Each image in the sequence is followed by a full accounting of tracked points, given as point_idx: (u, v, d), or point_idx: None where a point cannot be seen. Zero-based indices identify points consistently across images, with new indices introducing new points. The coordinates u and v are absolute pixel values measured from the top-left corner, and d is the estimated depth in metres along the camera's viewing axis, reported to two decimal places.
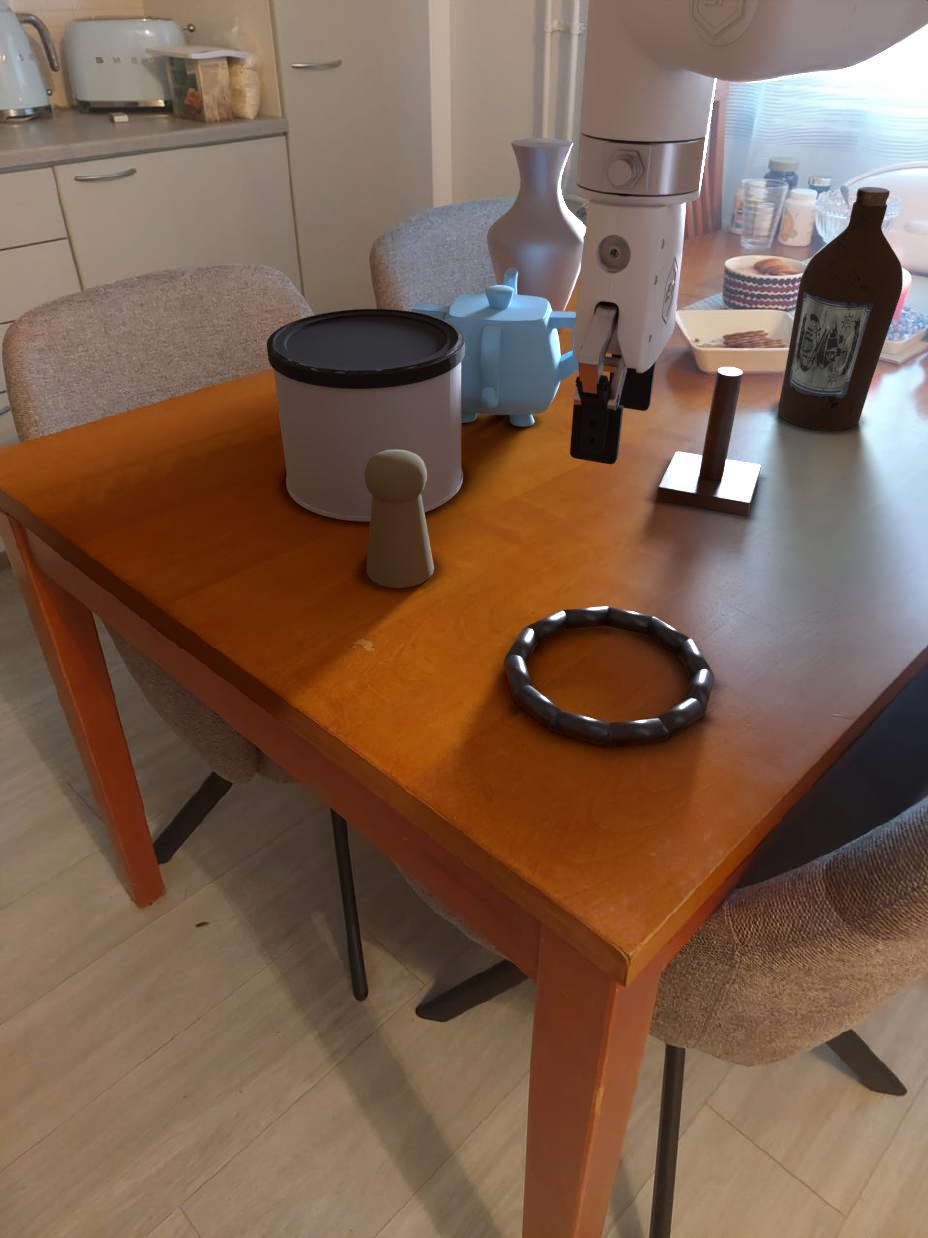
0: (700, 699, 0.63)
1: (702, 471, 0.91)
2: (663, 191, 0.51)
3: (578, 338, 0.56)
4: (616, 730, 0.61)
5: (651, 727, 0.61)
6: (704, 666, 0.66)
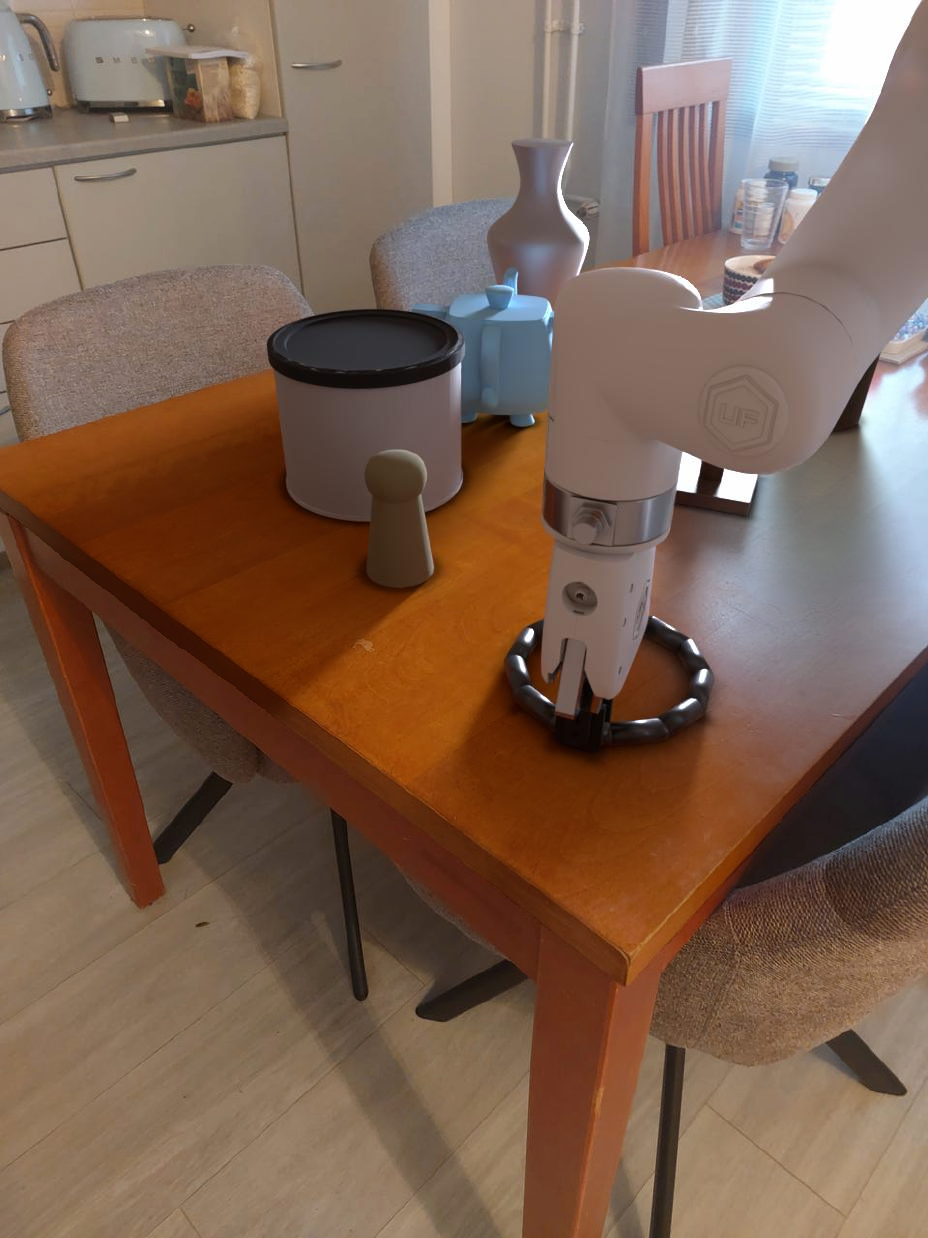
0: (700, 699, 0.63)
1: (702, 471, 0.91)
2: (631, 541, 0.49)
3: (545, 664, 0.54)
4: (616, 730, 0.61)
5: (651, 727, 0.61)
6: (704, 666, 0.66)
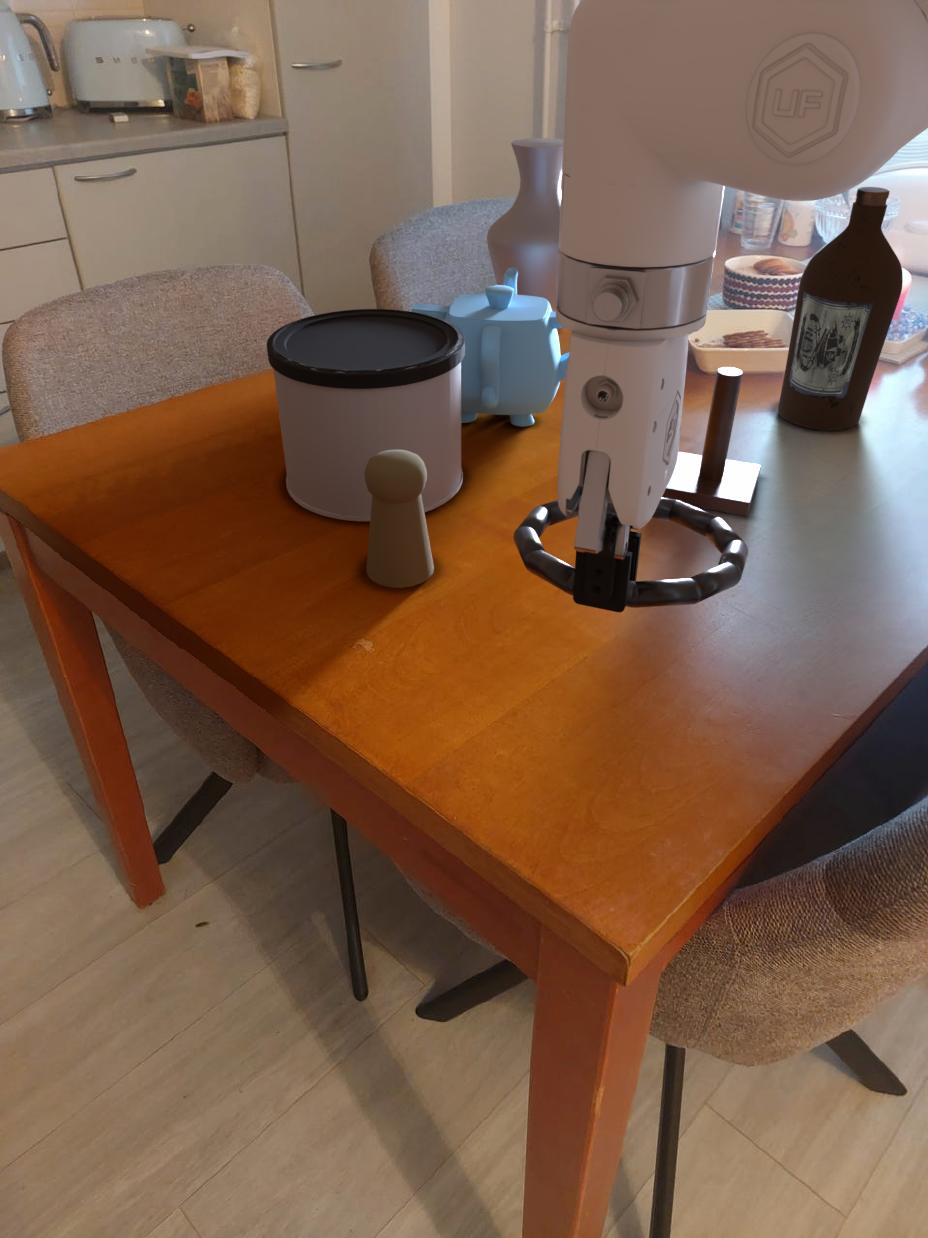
0: (735, 563, 0.56)
1: (702, 471, 0.91)
2: (662, 323, 0.42)
3: (562, 489, 0.46)
4: (643, 587, 0.54)
5: (682, 585, 0.54)
6: (737, 538, 0.59)
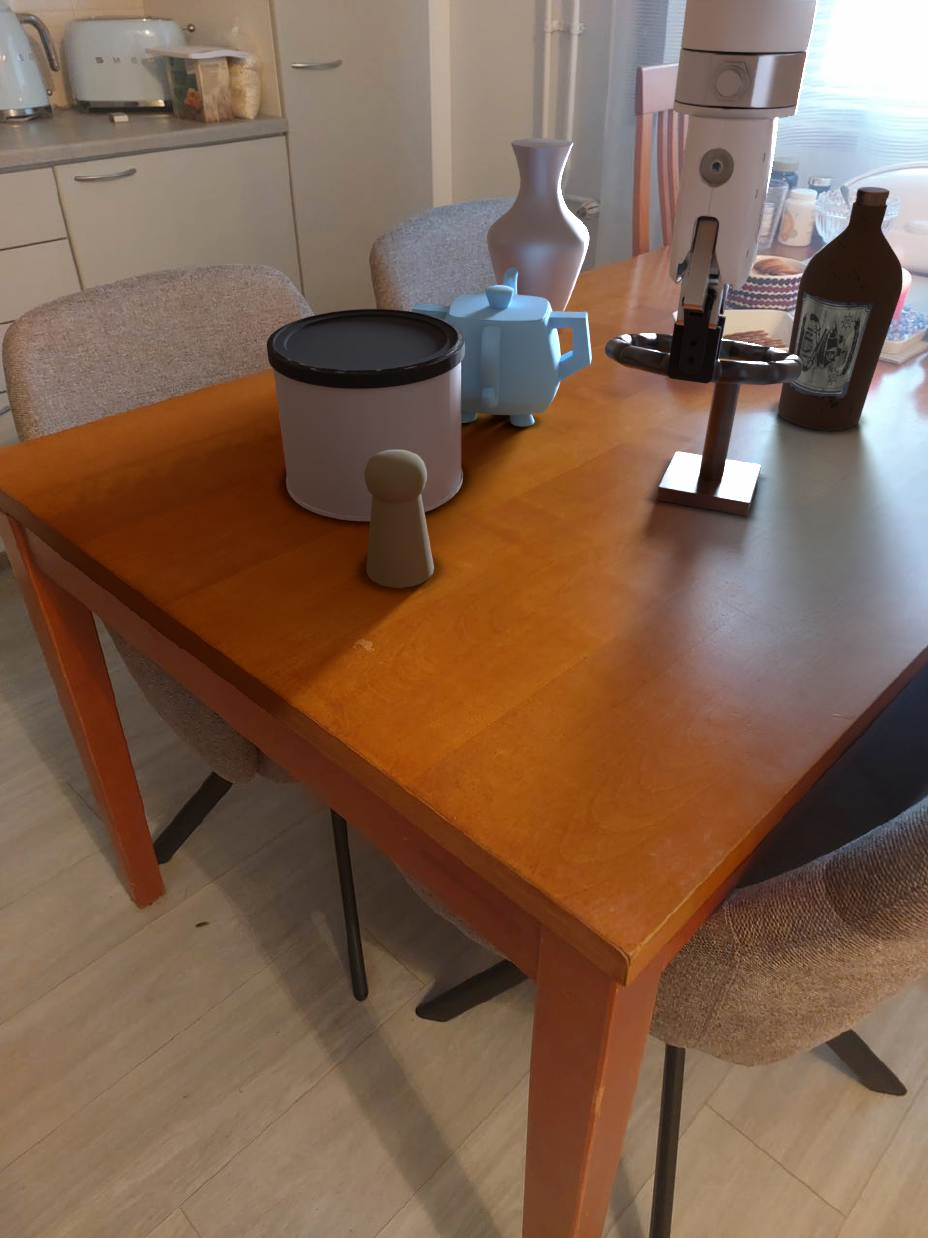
0: (796, 361, 0.68)
1: (702, 471, 0.91)
2: (767, 103, 0.52)
3: (675, 255, 0.57)
4: (726, 362, 0.65)
5: (757, 364, 0.65)
6: None
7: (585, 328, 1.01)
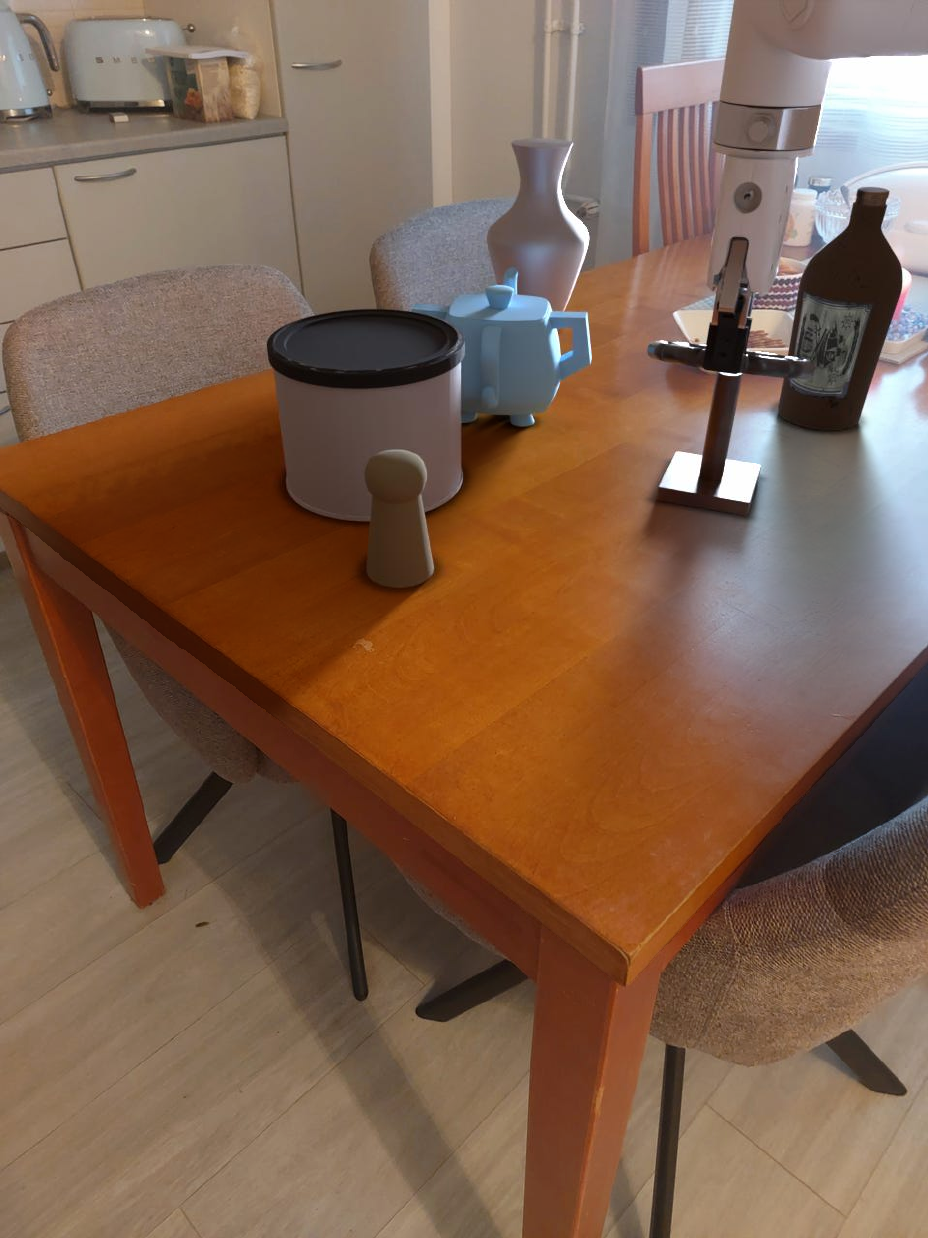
0: (810, 361, 0.80)
1: (702, 471, 0.91)
2: (789, 147, 0.65)
3: (712, 268, 0.70)
4: (752, 356, 0.77)
5: (778, 360, 0.78)
6: None
7: (585, 328, 1.01)
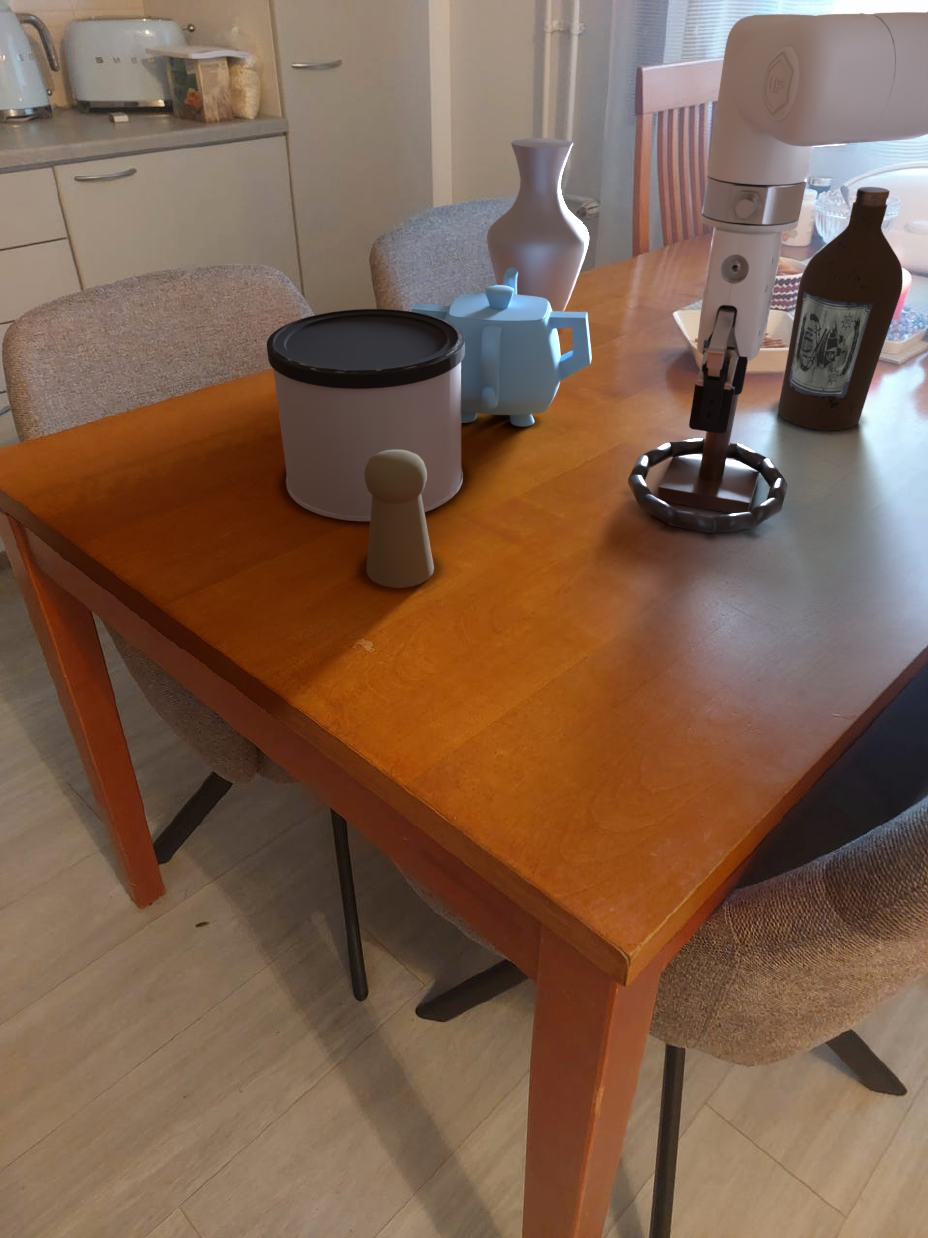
0: (778, 498, 0.86)
1: (702, 471, 0.91)
2: (774, 221, 0.68)
3: (702, 333, 0.73)
4: (719, 520, 0.84)
5: (744, 517, 0.84)
6: (780, 476, 0.89)
7: (585, 328, 1.01)
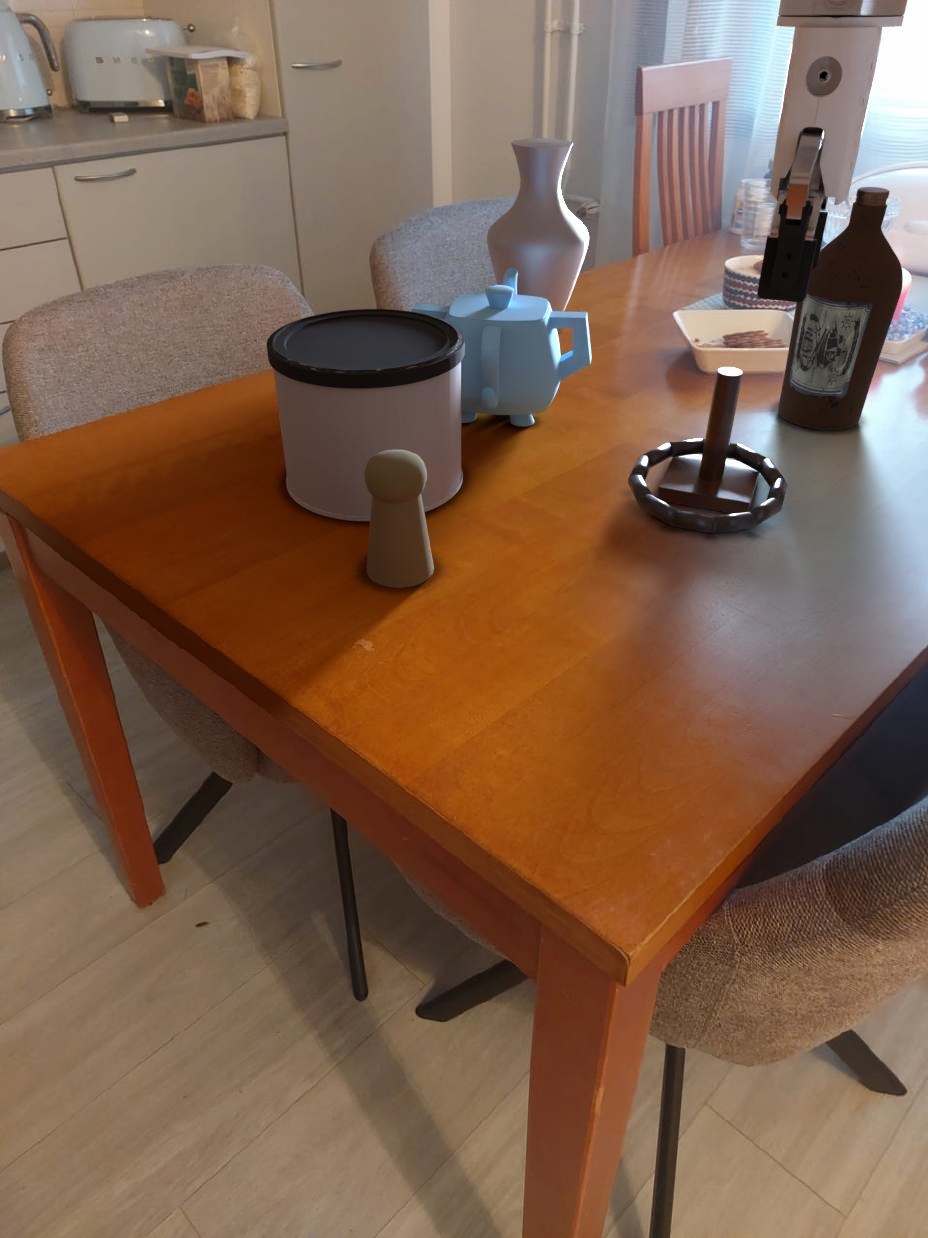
0: (778, 498, 0.86)
1: (702, 471, 0.91)
2: (876, 11, 0.53)
3: (777, 169, 0.58)
4: (719, 520, 0.84)
5: (744, 517, 0.84)
6: (780, 476, 0.89)
7: (585, 328, 1.01)
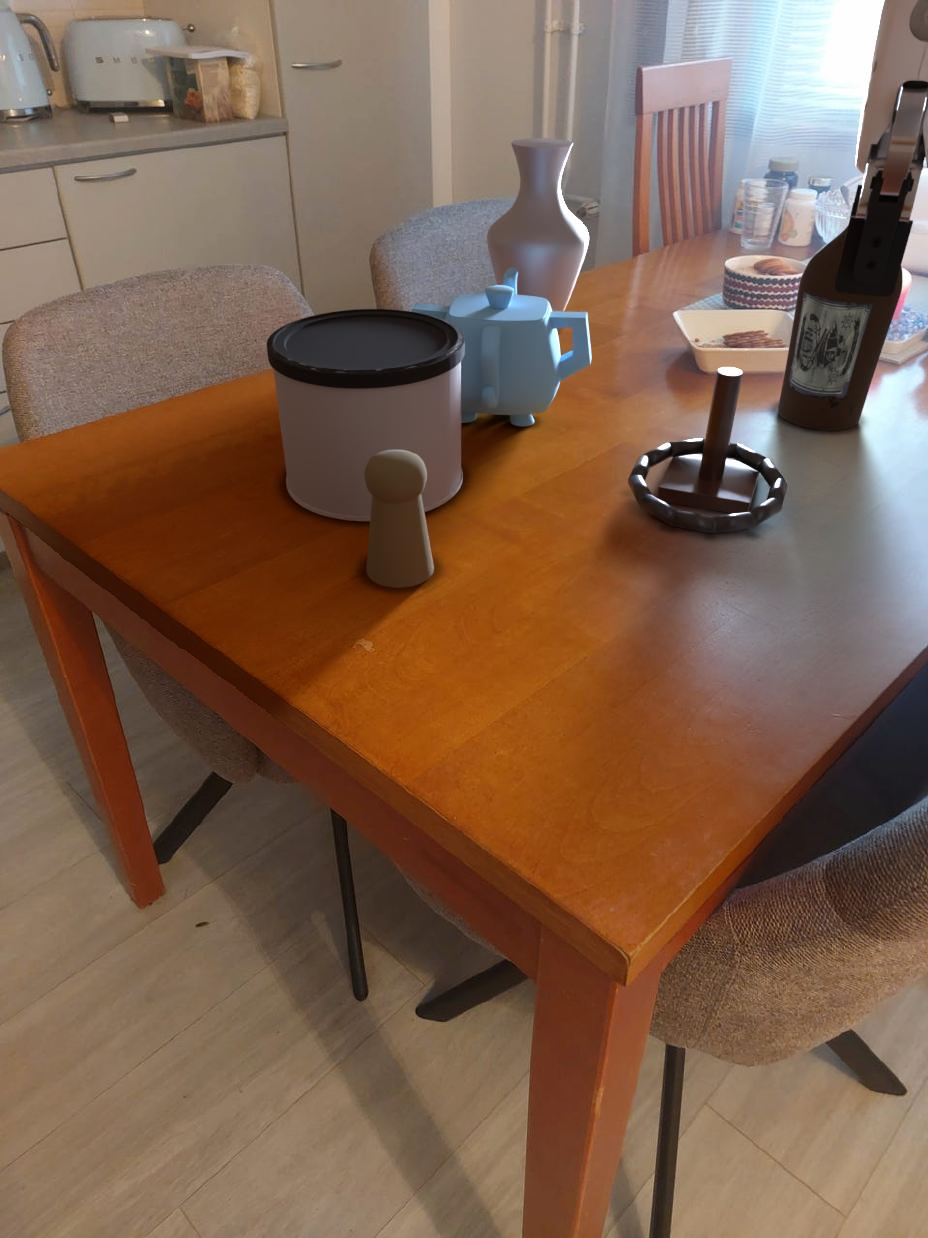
0: (778, 498, 0.86)
1: (702, 471, 0.91)
2: None
3: (868, 134, 0.47)
4: (719, 520, 0.84)
5: (744, 517, 0.84)
6: (780, 476, 0.89)
7: (585, 328, 1.01)
